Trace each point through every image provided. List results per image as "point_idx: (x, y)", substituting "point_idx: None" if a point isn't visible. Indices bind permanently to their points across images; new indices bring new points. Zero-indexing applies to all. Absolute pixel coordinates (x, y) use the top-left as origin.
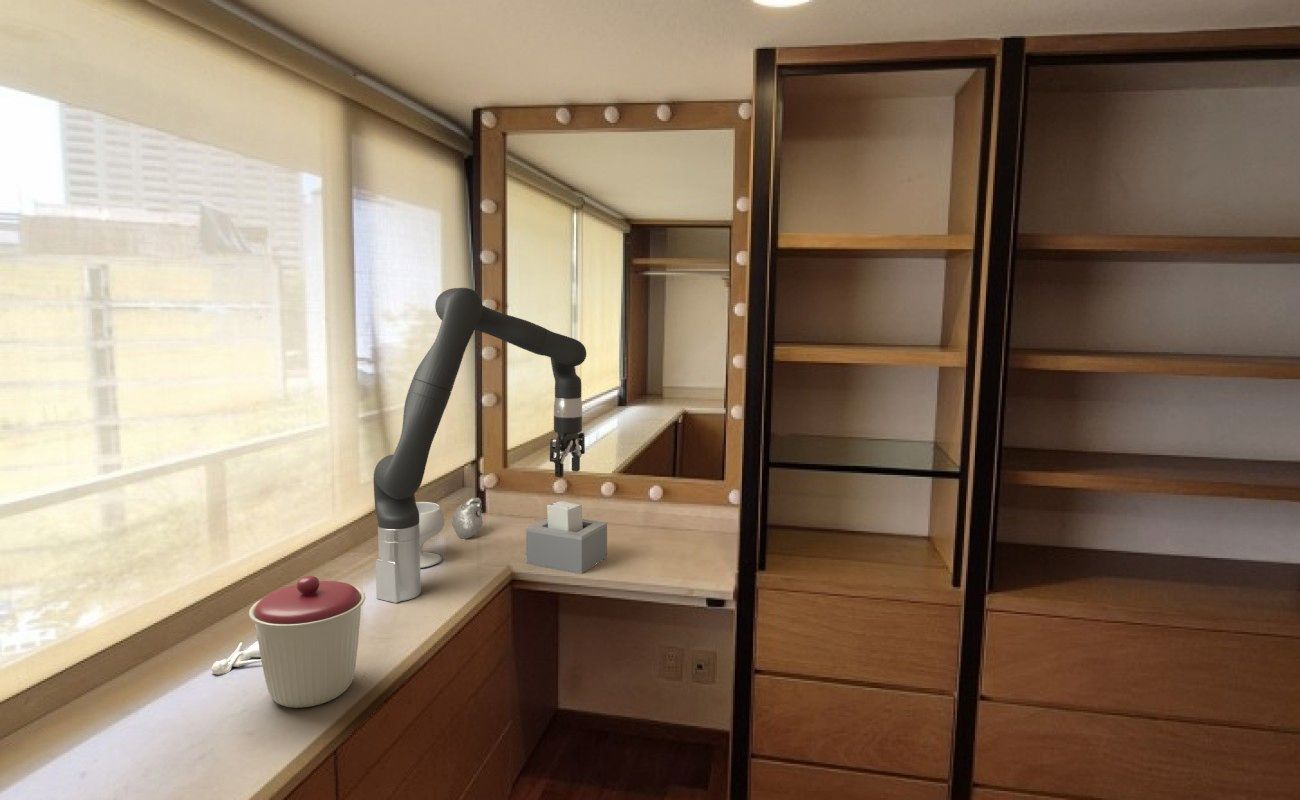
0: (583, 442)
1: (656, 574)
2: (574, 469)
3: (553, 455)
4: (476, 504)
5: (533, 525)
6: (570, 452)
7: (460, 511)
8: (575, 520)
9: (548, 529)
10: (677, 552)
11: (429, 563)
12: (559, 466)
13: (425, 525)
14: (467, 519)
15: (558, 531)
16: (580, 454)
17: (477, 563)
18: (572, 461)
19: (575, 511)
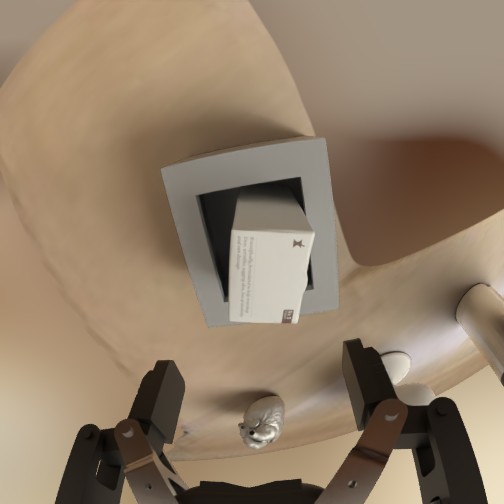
0: (71, 487)
1: (206, 19)
2: (178, 380)
3: (419, 459)
4: (258, 436)
5: (316, 307)
6: (177, 474)
7: (279, 434)
8: (271, 212)
9: (324, 258)
10: (79, 78)
11: (394, 357)
12: (393, 388)
13: (427, 394)
14: (278, 419)
15: (325, 224)
16: (125, 435)
17: (358, 323)
18: (174, 423)
19: (271, 223)
